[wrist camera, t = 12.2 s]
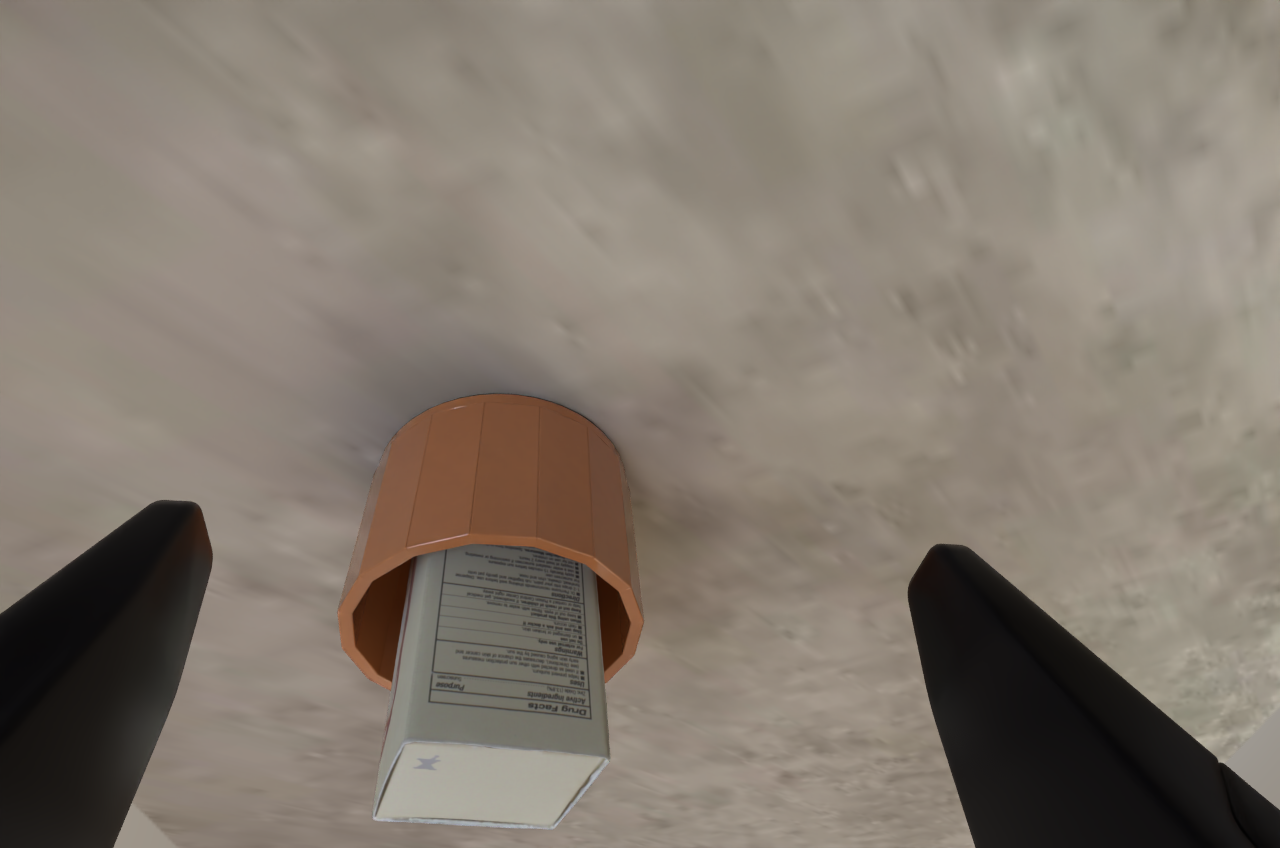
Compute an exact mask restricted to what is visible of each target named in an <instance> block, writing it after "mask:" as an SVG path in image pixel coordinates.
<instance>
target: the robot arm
mask: <svg viewBox="0 0 1280 848" xmlns="http://www.w3.org/2000/svg"><path fill="white" fill-rule="evenodd" d="M212 560H213V553H212V547H211V543H210V540H209V536H208V532H207V528H206V524H205V521H204V517H203V513H202V510H201V508H200V507H199V505H198V504H196V503H194V502H190V501H172V500H159V501H156V502H154V503H151V504H150V505H148V506H147V507H146V508H144V509H143V510H141V511H140V512H139V513H137V514H136V515H135V516H133V517H132V518H131V519H129V520H128V521H126V522H125V523H124V524H122V525H121V526H120V527H118V528H117V529H116V530H114V531H113V532H111V533H110V534H109V535H107V536H106V537H105V538H103V539H102V540H101V541H99V542H98V543H96V544H95V545H94V546H92V547H91V548H90V549H88V550H87V551H86V552H84V553H83V554H81V555H80V556H79V557H77V558H76V559H75V560H73V561H72V562H71V563H69V564H68V565H66V566H65V567H64V568H62V569H61V570H60V571H58V572H57V573H56V574H54V575H53V576H51V577H50V578H49V579H47V580H46V581H45V582H43V583H42V584H41V585H39V586H38V587H37V588H35V589H34V590H32V591H31V592H30V593H28V594H27V595H26V596H24V597H23V598H22V599H20V600H19V601H17V602H16V603H15V604H13V605H12V606H11V607H9V608H8V609H7V610H5V611H4V612H2V613H1V614H0V848H113V847H114V844H115V842H116V839H117V837H118V835H119V832H120V830H121V827H122V825H123V823H124V820H125V818H126V815H127V813H128V810H129V808H130V806H131V803H132V801H133V798H134V796H135V794H136V791H137V789H138V786H139V784H140V781H141V779H142V777H143V774H144V772H145V769H146V767H147V765H148V762H149V760H150V757H151V755H152V753H153V750H154V748H155V745H156V743H157V740H158V738H159V736H160V733H161V731H162V728H163V726H164V724H165V721H166V719H167V716H168V714H169V711H170V708H171V706H172V703H173V701H174V698H175V695H176V692H177V689H178V686H179V682H180V679H181V676H182V672H183V669H184V665H185V662H186V658H187V654H188V651H189V647H190V644H191V640H192V637H193V633H194V629H195V626H196V622H197V619H198V615H199V612H200V608H201V605H202V601H203V597H204V594H205V590H206V587H207V583H208V580H209V576H210V572H211V568H212ZM908 602H909V607H910V612H911V617H912V622H913V626H914V631H915V636H916V641H917V645H918V650H919V655H920V660H921V665H922V669H923V674H924V679H925V684H926V689H927V693H928V697H929V701H930V705H931V709H932V712H933V715H934V719H935V722H936V726H937V729H938V732H939V735H940V738H941V741H942V744H943V747H944V751H945V754H946V757H947V760H948V763H949V766H950V769H951V772H952V776H953V779H954V782H955V785H956V788H957V791H958V794H959V797H960V801H961V804H962V807H963V810H964V813H965V816H966V819H967V823H968V826H969V829H970V832H971V835H972V838H973V841H974V844H975V848H1280V810H1279V809H1278V808H1276V807H1275V806H1274V805H1273V804H1272V803H1270V802H1269V801H1268V800H1267V799H1266V798H1264V797H1263V796H1262V795H1261V794H1259V793H1258V792H1257V791H1256V790H1255V789H1253V788H1252V787H1251V786H1250V785H1248V783H1246V782H1245V781H1244V780H1243V779H1242V778H1241V777H1239V776H1238V775H1237V774H1236V773H1235V772H1233V771H1232V770H1231V769H1230V768H1229V767H1227V766H1226V765H1225V764H1224V763H1218V759H1217V758H1216V757H1215V756H1214V755H1213V754H1212V753H1211V752H1210V751H1208V750H1207V749H1206V748H1205V747H1204V746H1203V745H1201V744H1200V743H1199V742H1198V741H1197V740H1195V739H1194V738H1193V737H1192V736H1191V735H1190V734H1188V733H1187V732H1186V731H1185V730H1184V729H1182V728H1181V727H1180V726H1179V725H1178V724H1177V723H1175V722H1174V721H1173V720H1172V719H1171V718H1169V717H1168V716H1167V715H1166V714H1165V713H1164V712H1162V711H1161V710H1160V709H1159V708H1158V707H1156V706H1155V705H1154V704H1153V703H1152V702H1151V701H1149V700H1148V699H1147V698H1146V697H1145V696H1144V695H1142V694H1141V693H1140V692H1139V691H1138V690H1136V689H1135V688H1134V687H1133V686H1132V685H1131V684H1129V683H1128V682H1127V681H1126V680H1125V679H1123V678H1122V677H1121V676H1120V675H1119V674H1118V673H1116V672H1115V671H1114V670H1113V669H1112V668H1110V667H1109V666H1108V665H1107V664H1106V663H1105V662H1103V661H1102V660H1101V659H1100V658H1099V657H1097V656H1096V655H1095V654H1094V653H1093V652H1092V651H1090V650H1089V649H1088V648H1087V647H1086V646H1084V645H1083V644H1082V643H1081V642H1080V641H1079V640H1077V639H1076V638H1075V637H1074V636H1073V635H1071V634H1070V633H1069V632H1068V631H1067V630H1066V629H1064V628H1063V627H1062V626H1061V625H1060V624H1058V623H1057V622H1056V621H1055V620H1054V619H1053V618H1051V617H1050V616H1049V615H1048V614H1047V613H1046V612H1044V611H1043V610H1042V609H1041V608H1040V607H1038V606H1037V605H1036V604H1035V603H1034V602H1033V601H1031V600H1030V599H1029V598H1028V597H1027V596H1025V595H1024V594H1023V593H1022V592H1021V591H1020V590H1018V589H1017V588H1016V587H1015V586H1014V585H1012V584H1011V583H1010V582H1009V581H1008V580H1007V579H1005V578H1004V577H1003V576H1002V575H1001V574H999V573H998V572H997V571H996V570H995V569H994V568H992V567H991V566H990V565H989V564H988V563H986V562H985V561H984V560H983V559H982V558H981V557H979V556H978V555H977V554H976V553H975V552H973V551H972V550H971V549H970V548H968V547H966V546H963V545H954V544H936V545H935V546H933V547H932V548H931V549H930V550H929V551H928V553H927V555H926V556H925V558H924V559H923V561H922V563H921V564H920V566H919V568H918V569H917V571H916V572H915V574H914V576H913V577H912V579H911V581H910V583H909V587H908Z"/></svg>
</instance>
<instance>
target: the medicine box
mask: <svg viewBox="0 0 1280 848" xmlns="http://www.w3.org/2000/svg"><path fill="white" fill-rule="evenodd" d="M609 762H610V747H609V730H608V719H607V703H606V692H605V680H604V667H603V656H602V641H601V629H600V613H599V603H598V591H597V580H596V573H595V572H594V571H592V570H591V569H590V568H589V567H587V566H586V565H585V564H582V563H579V562H576V561H573V560H570V559H567V558H564V557H561V556H558V555H555V554H552V553H549V552H547V551H544V550H541V549H538V548H535V547H524V546H504V545H484V544H469V545H465V546H460V547H456V548H451V549H446V550H442V551H437V552H433V553H428V554H423V555H419V556H414V557H413V558H411V564H410V570H409V577H408V583H407V590H406V596H405V603H404V610H403V616H402V623H401V629H400V635H399V641H398V648H397V654H396V660H395V667H394V674H393V680H392V687H391V693H390V699H389V706H388V712H387V719H386V726H385V733H384V739H383V746H382V752H381V759H380V766H379V773H378V779H377V785H376V792H375V798H374V805H373V812H372V818H373V819H374V820H376V821H386V822H387V821H390V822H412V823H414V822H416V823H429V824H446V825H462V826H486V827H503V828H534V829H538V828H540V829H548V830H553V829H554V828H555V827H556V826H557V825H558V823H559V822H560V821H561V820H562V818H563V817H565V815H566V814H567V813H568V812H569V811H570V810H571V809H572V807H573V806H574V805H575V804H576V803H577V801H578V800H579V799H580V798H581V797H582V795H583V794H584V793H585V792H586V790H587V789H588V788H589V787H590V786H591V785H592V783H593V782H594V781H595V780H596V778H597V777H598V776H599V774H600V773H601V772H602V771H603V769H604V768H605V767H606V766H607V764H608V763H609Z"/></svg>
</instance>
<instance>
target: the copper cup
mask: <svg viewBox="0 0 1280 848" xmlns="http://www.w3.org/2000/svg"><path fill="white" fill-rule="evenodd" d="M469 544H484V545H504V546H524V547H535V548H538V549H541V550H544V551H547V552H549V553H552V554H555V555H558V556H561V557H564V558H567V559H570V560H573V561H576V562H579V563H582V564H585V565H586V566H587V567H589V568H590V569H591V570H592V571H594V572H595V573H596V580H597V591H598V603H599V613H600V629H601V641H602V656H603V667H604V680H605V683H607V682H608V681H609V680H610V679H611V678H612V677H613V676H614V675H615V674H616V673H617V672H618V671H619V670H620V669H621V668H622V667H623V666H624V665H625V664H626V663H627V662H628V661H629V660H630V659H631V658H632V657H633V656H634V655H635V651H636V648H637V645H638V641H639V638H640V634H641V631H642V627H643V624H644V616H643V607H642V597H641V588H640V579H639V570H638V561H637V551H636V542H635V533H634V524H633V515H632V505H631V496H630V490H629V487H628V483H627V479H626V473H625V469H624V465H623V462H622V460H621V458H620V455H619V453H618V452H617V450H616V448H615V447H614V445H613V444H612V442H611V441H610V440H609V439H608V438H607V437H606V436H605V434H604V433H603V432H602V431H601V430H600V429H598V428H597V427H596V426H595V425H594V424H593V423H591V422H590V421H588V420H587V419H585V418H584V417H582V416H581V415H579V414H578V413H576V412H574V411H571V410H569V409H567V408H565V407H563V406H560V405H558V404H555V403H552V402H549V401H546V400H542V399H538V398H534V397H529V396H522V395H514V394H485V395H475V396H469V397H463V398H459V399H455V400H452V401H448V402H445V403H442V404H440V405H438V406H435V407H433V408H430V409H428V410H426V411H425V412H423V413H421V414H420V415H418V416H416V417H415V418H413V419H412V420H411V421H409V422H408V423H407V424H406V425H404V426H403V427H402V428H401V429H400V430H399V431H398V432H397V433H396V434H395V435H394V437H393V438H392V439H391V441H390V442H389V444H388V445H387V447H386V448H385V450H384V453H383V455H382V457H381V459H380V463H379V466H378V468H377V470H376V471H375V473H374V476H373V480H372V483H371V487H370V491H369V495H368V498H367V502H366V506H365V510H364V513H363V517H362V521H361V525H360V528H359V532H358V536H357V540H356V543H355V547H354V551H353V555H352V558H351V562H350V566H349V570H348V573H347V577H346V581H345V585H344V588H343V592H342V596H341V600H340V603H339V607H338V611H337V614H338V622H339V630H340V638H341V646H342V649H343V650H344V651H345V653H346V654H347V655H348V656H349V657H350V658H351V660H352V661H353V662H354V663H355V664H356V665H357V667H358V668H359V669H360V670H361V671H362V672H363V674H364V675H365V676H366V677H367V678H368V679H369V680H371V681H373V682H375V683H376V684H378V685H380V686H382V687H384V688H386V689H388V690H390V691H391V687H392V680H393V674H394V667H395V660H396V654H397V648H398V641H399V635H400V629H401V623H402V616H403V610H404V603H405V596H406V590H407V583H408V577H409V570H410V564H411V558H413V557H414V556H419V555H423V554H428V553H433V552H437V551H442V550H446V549H451V548H456V547H460V546H465V545H469Z"/></svg>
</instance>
